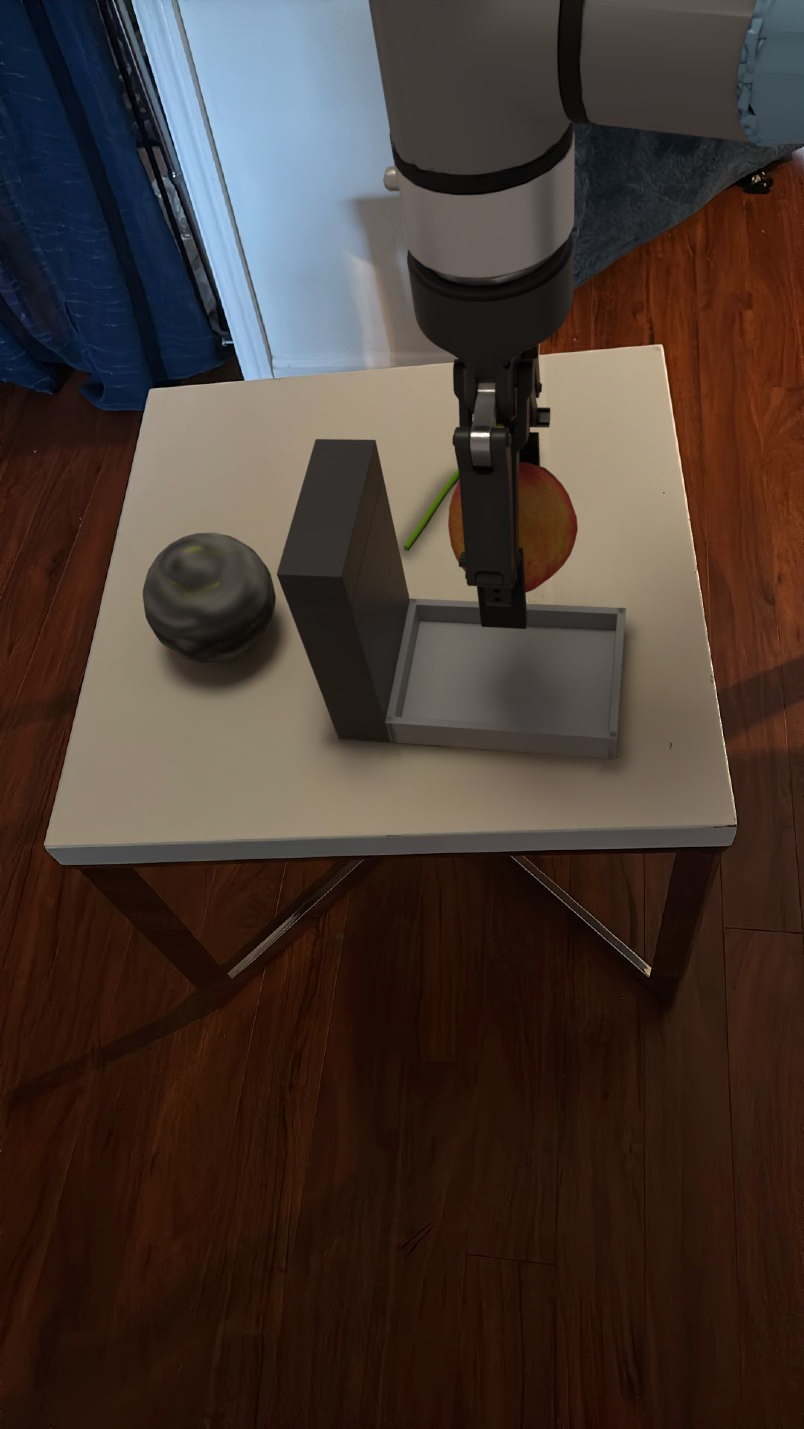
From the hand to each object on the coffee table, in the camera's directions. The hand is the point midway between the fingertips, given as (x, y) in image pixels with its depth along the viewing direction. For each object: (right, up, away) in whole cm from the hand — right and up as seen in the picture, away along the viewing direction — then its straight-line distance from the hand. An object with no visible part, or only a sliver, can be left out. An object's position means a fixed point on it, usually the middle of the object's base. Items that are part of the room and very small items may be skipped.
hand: (512, 564), depth 66 cm
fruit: (0, 0, 0) cm, 0 cm away
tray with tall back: (-1, -7, +12) cm, 14 cm away
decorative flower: (0, +9, +22) cm, 24 cm away
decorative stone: (-21, -3, +18) cm, 28 cm away
